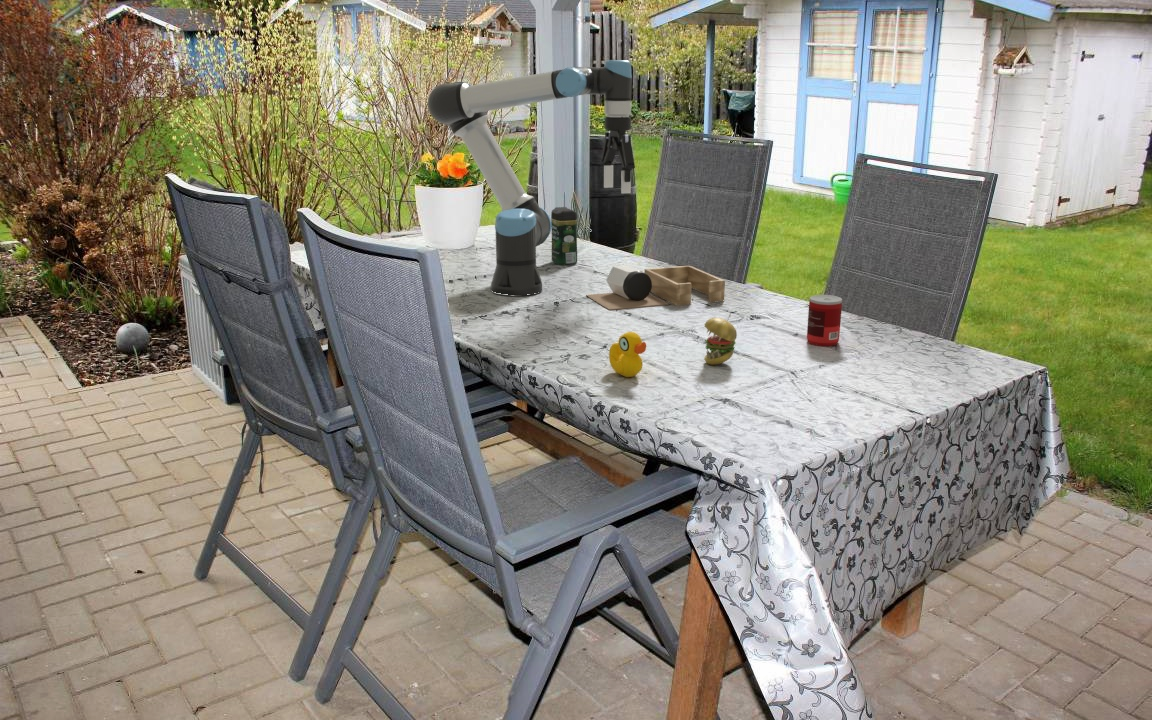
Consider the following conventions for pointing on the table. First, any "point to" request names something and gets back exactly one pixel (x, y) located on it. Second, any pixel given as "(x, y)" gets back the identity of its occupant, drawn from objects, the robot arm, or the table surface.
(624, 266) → the jar
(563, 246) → the coffee jar
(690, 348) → the table surface
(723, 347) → the hamburger
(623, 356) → the duckling
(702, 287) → the crate
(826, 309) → the canned food
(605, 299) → the mat
